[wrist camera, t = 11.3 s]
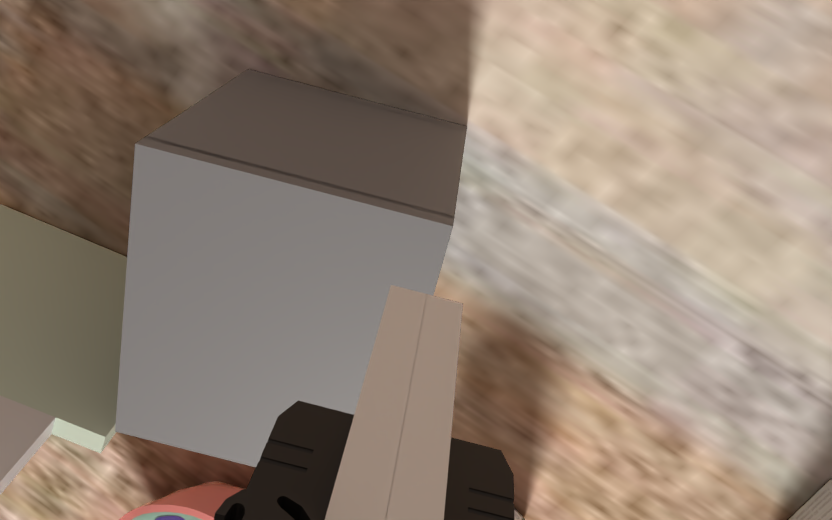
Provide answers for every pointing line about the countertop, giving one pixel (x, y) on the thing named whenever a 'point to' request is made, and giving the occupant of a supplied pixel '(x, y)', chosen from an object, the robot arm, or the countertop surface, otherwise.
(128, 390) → the box
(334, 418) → the robot arm
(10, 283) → the side door
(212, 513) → the cell model
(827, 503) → the supplement box
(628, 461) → the countertop surface
